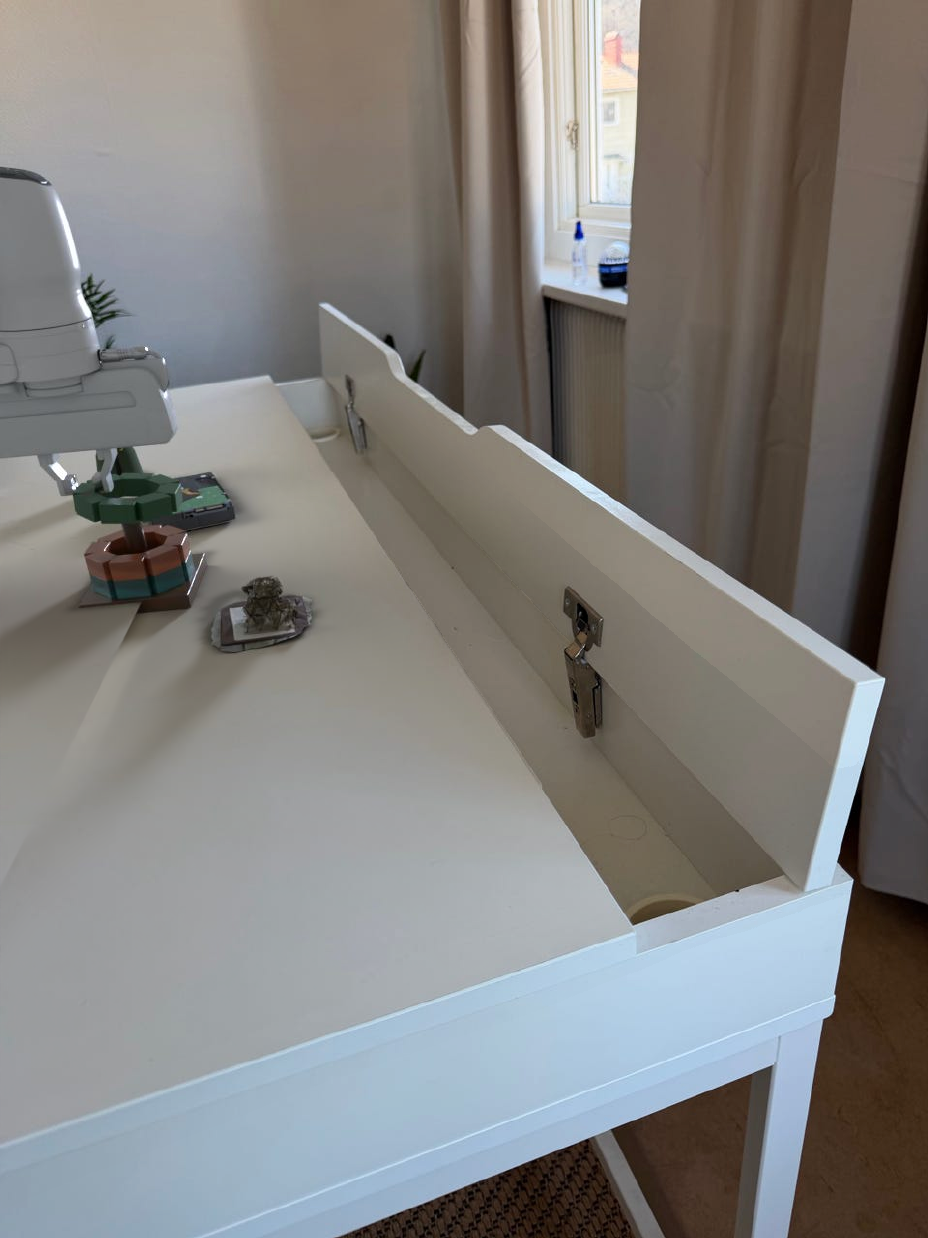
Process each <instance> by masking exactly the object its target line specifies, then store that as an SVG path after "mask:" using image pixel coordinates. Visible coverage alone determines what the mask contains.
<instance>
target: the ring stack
mask: <svg viewBox="0 0 928 1238" xmlns="http://www.w3.org/2000/svg"><path fill="white" fill-rule="evenodd" d="M120 526H121V530H118V531H115V532H113V533H110V534H107V535H105V536H102V537H99V538H97V539H96V541H92V542H90V545H89V546H88V547H87V549H86V550H85V552H84V553H83V556H84V560H85V563H86V567H87V571H88V574H89V578H90V581H91V585H90V586H89V588H88V589H87V592H86V593H85V594H84V596H83V598H82V600H81V601H80V603H79V604H78V608H79V609H83V608H93V607H103V606H104V607H105V606H111V605H112V606H113V605H114V606H115V605H122V604H132V603H140V605H139V606H138V608H137V611H136V614H140V613H150V612H161V611H162V612H163V611H171V610H179V609H181V610H182V609H190V608H192V606H193V603H194V600H195V597H196V595H197V593H198V590H199V587H200V584H201V583H202V580H203V577H204V575H205V571H206V569H207V567H208V562H207V557H206V553H205V552H201V553H192V550H191V549H192V548H191V545H190V540H189V535H188V533H187V531H185V530H181V529H178V528H175V527H172V526H169V525H166V526H164V527H162V525H153V526H150V525H143V522H141V521H139V520H138V521H137V523H136V524H120Z"/></svg>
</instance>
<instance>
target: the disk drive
mask: <svg viewBox="0 0 928 1238" xmlns="http://www.w3.org/2000/svg"><path fill="white" fill-rule="evenodd" d="M172 478H173V477H172ZM173 479H175V480H178V481H179V483H181V490H182V500H183V501H182V503H181V505H180V507H179V509H178V511H177V512H172V515H169V516H166V517H162V518H159V519H155V520H152V521H148V522H147V523H148V526H153V525H162V527H164V526H166V525H169V526H172V527H175V528H178V529H181V530H185V532H187V531H189V530H196V529H201V528H205V527H211V526H215V525H220V524H225V523H229V522H232V521H235V520H236V512H235V506H234V505H233V502H232V499H231V497H230V495H229V494H228V493H227V492H226V490H225V488H224V487H223V486H222V484H221V483H220V482H219V480H218V479H217V477H216V475H215V474H214V473H213V472H212V471H206V472H201V473H197V474H191V475H186V476H179V477H174V478H173Z"/></svg>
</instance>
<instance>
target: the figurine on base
mask: <svg viewBox="0 0 928 1238" xmlns="http://www.w3.org/2000/svg"><path fill="white" fill-rule="evenodd" d="M240 589H241V590H242V592H243V593H244V594H245V595H246V596H247V599H243V600H239V601H235V602H232V603H231V604H229V605H226V606H224V607H222V608H221V609H220V611H218V612H217V613H216V614H215V616H214V620H213V624H212V627H211V628H210V632H211V635H210V638H211V640H212V641H211V645H213V646H215V647H216V648H217V649H218V650H219V651H222V652H229V653H236V652H237V653H238V652H243V651H247V650H251V649H259V648H264V647H269V646H271V645H275V644H278V643H279V642H282V641H285V640H288V639H291V638H293V637H296V636H298V635H300V634H302V633H303V630H304V628H306V627H309V626H311V625H312V623H311V622H310V621H311V620H312V619H313V616H312V614H313V610H312V608H311V603H312V602H313V599H311V598H309V597H307V596H304V595H297V594H285V595H284V594H283V593H284V585H283V582H282V580H281V579H280V578H279V577H278V576H276V575H268V576H257V577H254V578H253V579H251V580H250V581H249V582H247V583H246V584H244V585H243V586H241V588H240ZM282 594H283V595H282Z"/></svg>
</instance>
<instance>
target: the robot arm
mask: <svg viewBox="0 0 928 1238" xmlns="http://www.w3.org/2000/svg"><path fill="white" fill-rule="evenodd" d="M62 203H63V202H62V201H61V199H60V196H59V194H58V192H57V191H56V188H55V187H54V185H53V184H52V183H51V182H50V181H49V180H47V179H46V178H45V177H44V176H42V175H41V174H39V173H36V172H34V171H31V170H26V169H23V168H22V169H21V168H16V167H6V166H0V459H13V458H22V457H23V458H24V457H33V456H34V457H35V456H36V457H37V459H38V460H37V461H38V464H39V467H40V468H41V469H42V470H44V472H46V473H47V474H48V475H49V476H50V478H52V480H54V481H56V485H57V488H58V492H59V495H60V496H61V497H69V496H73V492H74V491H75V490H76V489H77V488H78V486H79V485H80V484H79V483H78V478H77V473H71V474H69V473H67V471H66V470H65V469H64V468H63V467H62V466H61V465H60V463H58V460H59V459H60V458H61V456H60V455H61V454H66V453H67V454H68V453H79V452H88V451H89V452H90V451H95V454H96V453H97V457H98V459H99V460H104V464H103V467H102V470H101V472H97V471H96V472H94V474H93V475H92V476H91V479H92V482H93V484H94V485H95V487H94V490H95V492H96V493H105V492H111V491H112V490H113V488H114V484H113V480H112V476H111V470H112V468H113V465H114V462H115V459H116V456H117V449H116V448H124V447H133V448H134V447H146V446H155V445H165V444H168V443H170V442H171V441H172V439H173V438H174V437H175V435H176V434H177V432H178V430H179V419H178V417H177V413H176V410H175V406H174V403H173V401H172V398H171V395H170V392H169V389H168V388H169V386H170V374H169V370H168V365H167V362H166V361H165V359H164V358H163V356H162V355H161V354H159V353H158V352H155V351H154V350H149V349H148V347H147V346H134V347H132V348H108V349H107V348H106V349H105V348H104V349H101V346H100V342H99V338H98V333H97V329H96V325H95V320H94V317H93V314H92V313H93V312H92V311H91V308H90V306H89V305H88V303H87V301H86V299H85V297H84V294H83V289H82V283H81V278H82V277H81V276H82V267H81V266H82V265H81V262H80V259H79V258H80V257H79V254H78V250H77V246H76V243H75V241H74V239H75V238H74V236H73V233H72V229H71V226H70V223H69V220H68V217H67V214H66V211H65V208H64V206H63V204H62ZM150 356H152V357H150Z"/></svg>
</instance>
